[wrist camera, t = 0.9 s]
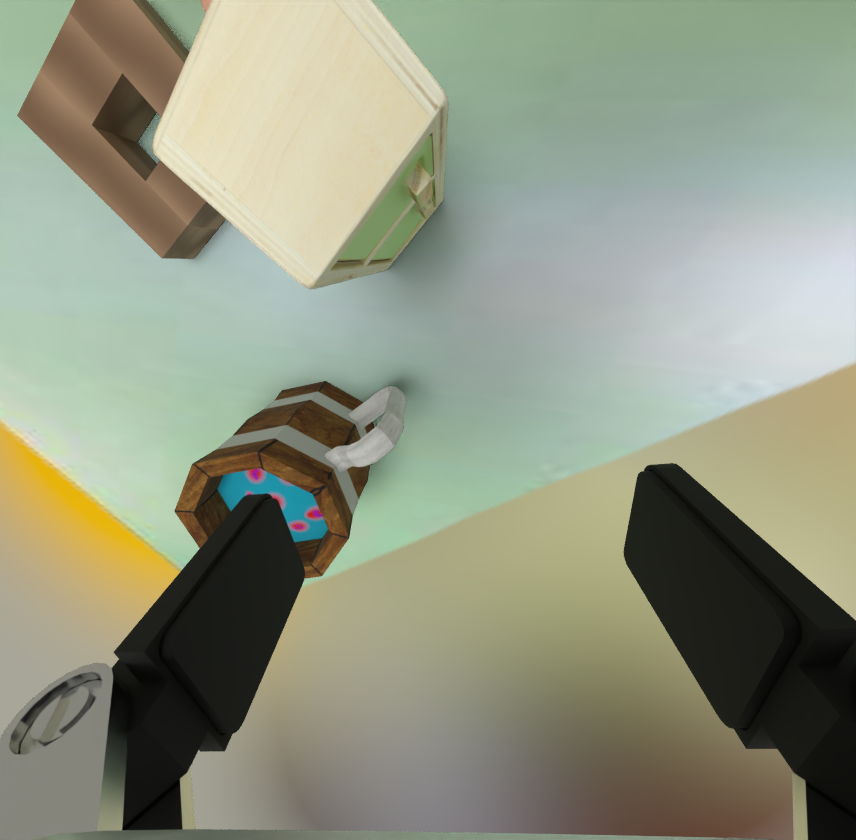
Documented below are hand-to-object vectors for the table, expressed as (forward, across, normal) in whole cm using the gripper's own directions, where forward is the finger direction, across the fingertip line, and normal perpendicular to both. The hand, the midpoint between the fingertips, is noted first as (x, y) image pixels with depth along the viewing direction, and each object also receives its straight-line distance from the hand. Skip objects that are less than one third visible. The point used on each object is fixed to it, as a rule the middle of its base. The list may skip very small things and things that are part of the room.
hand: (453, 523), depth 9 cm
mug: (+28, +13, +9) cm, 32 cm away
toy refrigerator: (+28, +4, -10) cm, 30 cm away
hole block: (+28, +21, -17) cm, 39 cm away
